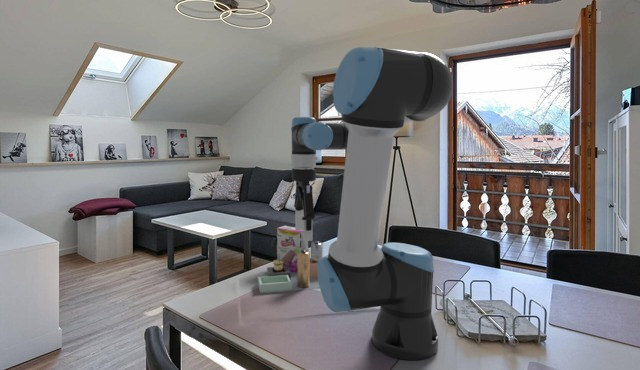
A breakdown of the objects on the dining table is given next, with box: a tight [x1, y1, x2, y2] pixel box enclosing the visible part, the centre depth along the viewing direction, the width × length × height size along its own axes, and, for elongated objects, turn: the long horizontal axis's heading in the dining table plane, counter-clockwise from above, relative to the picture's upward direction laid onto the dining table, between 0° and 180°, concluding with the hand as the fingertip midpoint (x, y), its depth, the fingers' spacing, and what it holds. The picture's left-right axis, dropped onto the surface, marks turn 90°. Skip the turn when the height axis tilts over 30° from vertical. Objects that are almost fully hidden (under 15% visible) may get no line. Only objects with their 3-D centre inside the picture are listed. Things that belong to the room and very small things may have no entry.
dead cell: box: [310, 240, 324, 263], centre depth 130 cm, size 4×4×12 cm
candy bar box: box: [276, 225, 309, 272], centre depth 135 cm, size 11×5×16 cm, turn 58°
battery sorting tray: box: [256, 256, 324, 295], centre depth 124 cm, size 16×24×6 cm, turn 104°
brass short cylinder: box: [272, 259, 284, 272], centre depth 126 cm, size 4×4×4 cm
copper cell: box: [297, 250, 311, 288], centre depth 119 cm, size 4×4×12 cm
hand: (303, 235), depth 118 cm, fingers open, 13 cm apart
